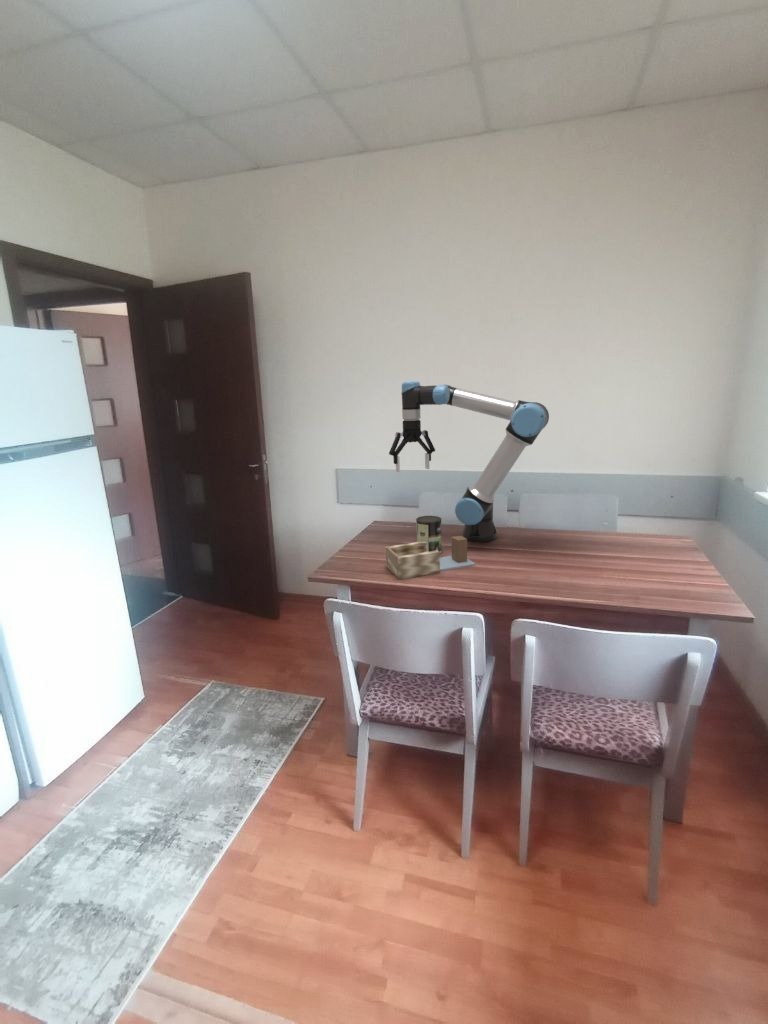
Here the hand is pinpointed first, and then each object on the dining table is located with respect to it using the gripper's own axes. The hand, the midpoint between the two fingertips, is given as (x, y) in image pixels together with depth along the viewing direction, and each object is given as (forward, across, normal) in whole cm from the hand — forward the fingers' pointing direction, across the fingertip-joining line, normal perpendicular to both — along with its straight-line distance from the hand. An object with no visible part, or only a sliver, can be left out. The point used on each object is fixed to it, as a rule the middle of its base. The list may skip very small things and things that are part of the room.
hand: (412, 470), depth 206 cm
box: (+32, +14, +32) cm, 47 cm away
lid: (+32, -2, +32) cm, 45 cm away
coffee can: (+32, 0, +16) cm, 36 cm away
